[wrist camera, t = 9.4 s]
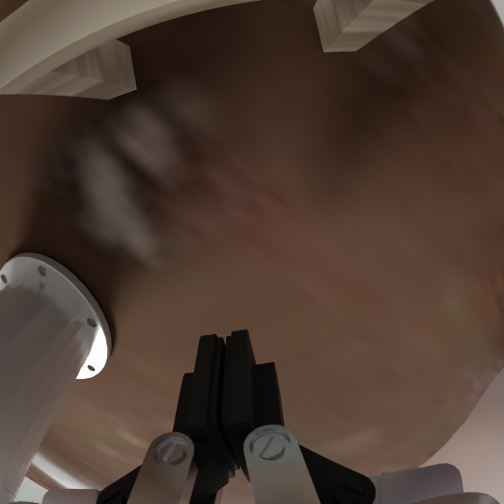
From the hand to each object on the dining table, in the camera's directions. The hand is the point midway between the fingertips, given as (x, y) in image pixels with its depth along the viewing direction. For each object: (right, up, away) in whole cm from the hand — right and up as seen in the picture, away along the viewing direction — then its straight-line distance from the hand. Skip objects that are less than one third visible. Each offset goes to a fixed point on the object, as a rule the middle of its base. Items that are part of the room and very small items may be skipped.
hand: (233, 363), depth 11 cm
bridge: (-1, +16, +3) cm, 16 cm away
